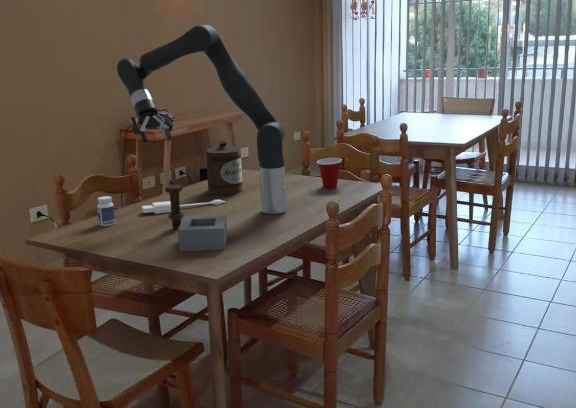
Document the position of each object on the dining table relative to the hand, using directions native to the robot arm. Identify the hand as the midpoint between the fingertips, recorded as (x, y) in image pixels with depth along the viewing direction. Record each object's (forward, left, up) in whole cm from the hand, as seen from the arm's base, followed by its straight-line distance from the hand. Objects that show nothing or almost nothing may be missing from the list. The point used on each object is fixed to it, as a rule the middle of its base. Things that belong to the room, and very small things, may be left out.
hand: (158, 140), depth 211 cm
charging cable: (-5, -15, -30) cm, 34 cm away
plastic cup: (-65, -41, -30) cm, 82 cm away
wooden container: (-20, -41, -30) cm, 54 cm away
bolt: (-6, +10, -30) cm, 32 cm away
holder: (-17, +27, -29) cm, 43 cm away
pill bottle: (+20, +2, -30) cm, 36 cm away
